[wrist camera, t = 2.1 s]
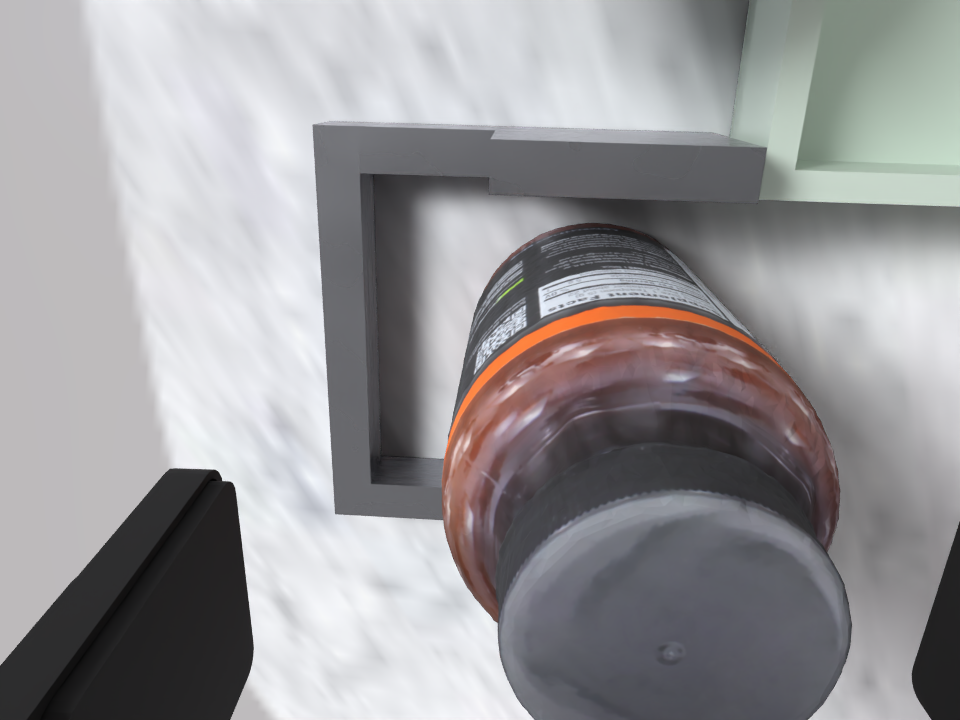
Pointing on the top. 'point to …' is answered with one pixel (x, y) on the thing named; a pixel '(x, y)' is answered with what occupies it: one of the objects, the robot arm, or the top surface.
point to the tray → (853, 100)
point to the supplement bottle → (641, 493)
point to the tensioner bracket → (511, 171)
